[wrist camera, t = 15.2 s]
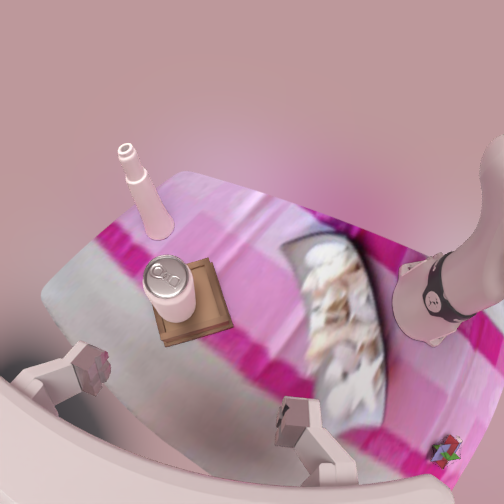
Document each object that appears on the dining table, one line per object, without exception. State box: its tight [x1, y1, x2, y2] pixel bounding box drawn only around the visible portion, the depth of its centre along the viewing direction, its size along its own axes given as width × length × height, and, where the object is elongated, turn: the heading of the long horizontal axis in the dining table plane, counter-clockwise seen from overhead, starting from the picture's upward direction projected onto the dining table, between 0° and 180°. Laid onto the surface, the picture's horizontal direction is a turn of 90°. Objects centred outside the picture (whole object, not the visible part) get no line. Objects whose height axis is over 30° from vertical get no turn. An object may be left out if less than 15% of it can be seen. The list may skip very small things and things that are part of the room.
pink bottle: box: [118, 143, 174, 240], centre depth 43 cm, size 6×6×22 cm
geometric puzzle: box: [431, 434, 463, 470], centre depth 32 cm, size 7×7×8 cm
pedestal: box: [152, 258, 233, 347], centre depth 44 cm, size 12×12×5 cm
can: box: [143, 255, 196, 323], centre depth 37 cm, size 6×6×12 cm
